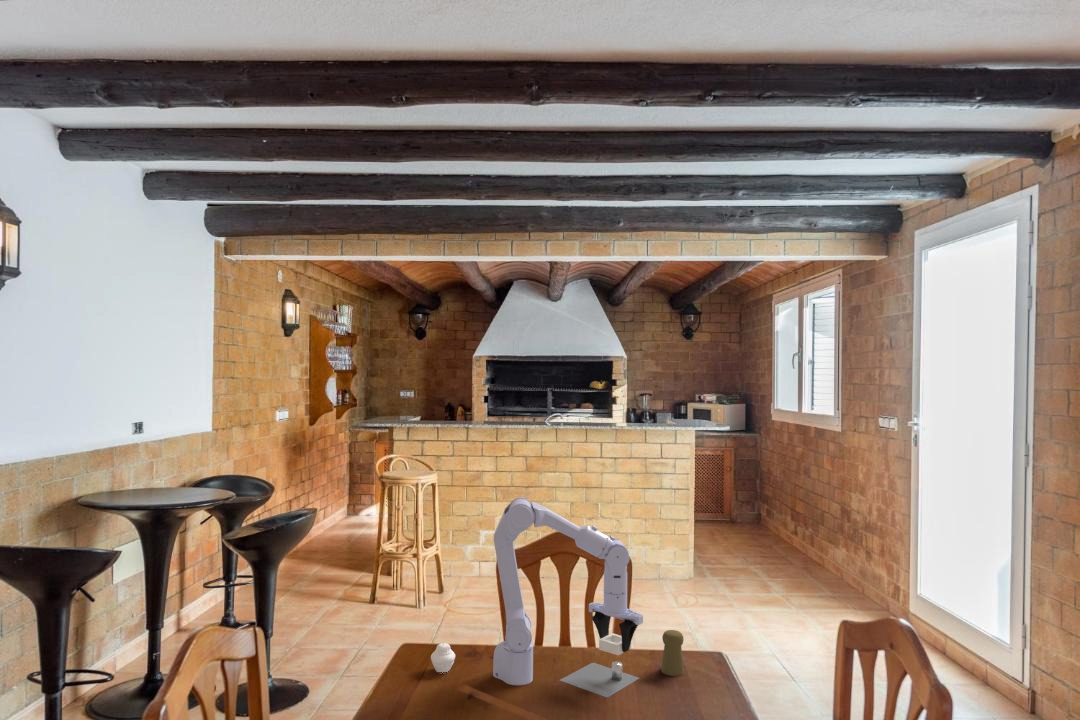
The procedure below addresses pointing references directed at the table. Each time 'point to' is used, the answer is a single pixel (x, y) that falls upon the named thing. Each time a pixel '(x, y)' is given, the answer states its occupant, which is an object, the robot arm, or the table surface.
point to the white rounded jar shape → (443, 658)
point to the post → (617, 671)
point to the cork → (672, 653)
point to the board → (598, 680)
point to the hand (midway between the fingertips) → (615, 647)
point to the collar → (611, 644)
